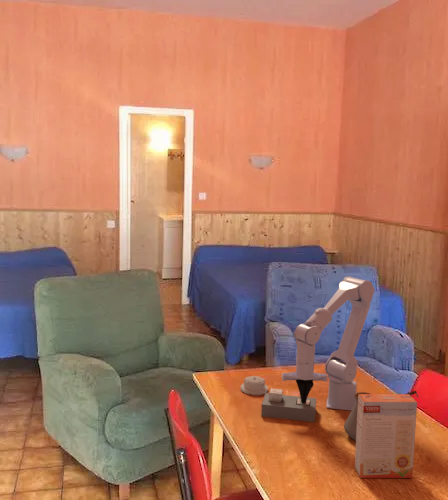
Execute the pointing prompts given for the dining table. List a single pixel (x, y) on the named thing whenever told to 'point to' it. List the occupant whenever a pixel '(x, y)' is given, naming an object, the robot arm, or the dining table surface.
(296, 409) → the block
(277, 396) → the greyish pink cube
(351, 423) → the coffee pot
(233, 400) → the dining table surface
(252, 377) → the mechanical component
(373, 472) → the cracker box
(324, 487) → the dining table surface
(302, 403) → the pink matte cube
